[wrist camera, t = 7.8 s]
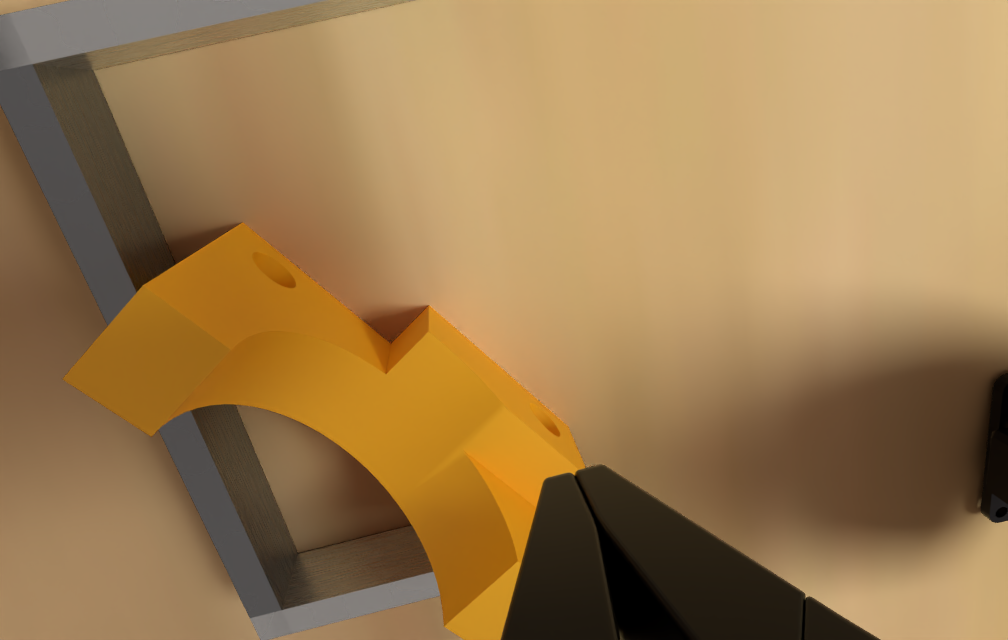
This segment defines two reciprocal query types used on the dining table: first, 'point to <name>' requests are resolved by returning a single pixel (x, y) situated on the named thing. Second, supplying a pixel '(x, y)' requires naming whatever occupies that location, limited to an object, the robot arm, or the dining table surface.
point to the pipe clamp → (347, 404)
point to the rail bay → (145, 255)
